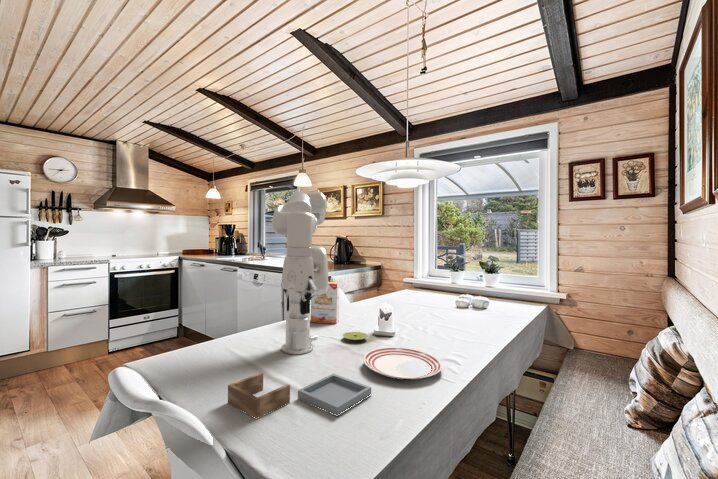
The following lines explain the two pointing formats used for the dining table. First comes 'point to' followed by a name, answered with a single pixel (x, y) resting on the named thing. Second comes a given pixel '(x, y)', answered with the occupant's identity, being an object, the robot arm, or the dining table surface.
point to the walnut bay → (254, 405)
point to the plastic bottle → (296, 311)
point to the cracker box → (326, 305)
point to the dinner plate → (399, 361)
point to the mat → (355, 335)
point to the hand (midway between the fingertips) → (298, 311)
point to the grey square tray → (334, 393)
